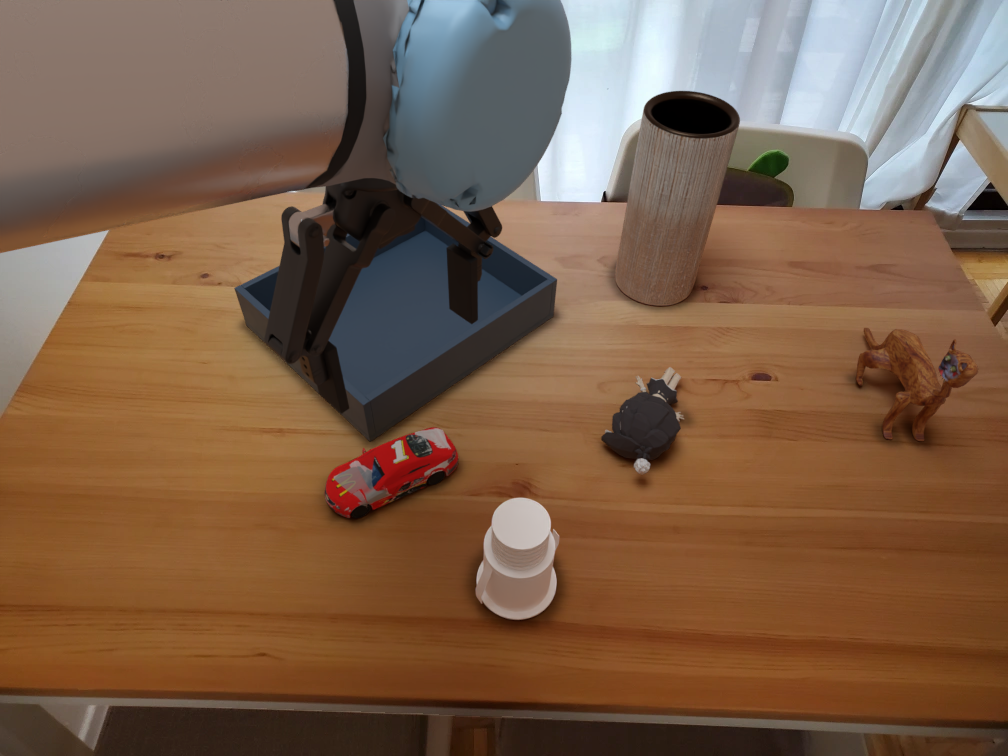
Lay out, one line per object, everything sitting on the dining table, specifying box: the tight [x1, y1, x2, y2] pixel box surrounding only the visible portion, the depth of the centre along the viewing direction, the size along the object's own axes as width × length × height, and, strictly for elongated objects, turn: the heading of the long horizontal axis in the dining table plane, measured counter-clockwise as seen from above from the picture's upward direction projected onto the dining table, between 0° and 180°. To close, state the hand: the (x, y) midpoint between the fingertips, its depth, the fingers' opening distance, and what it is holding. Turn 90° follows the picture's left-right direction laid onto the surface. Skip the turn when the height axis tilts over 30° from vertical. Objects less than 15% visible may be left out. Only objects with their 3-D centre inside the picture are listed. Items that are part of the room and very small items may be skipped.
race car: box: [323, 426, 460, 519], centre depth 69 cm, size 13×5×4 cm, turn 118°
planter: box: [614, 90, 741, 306], centre depth 83 cm, size 10×10×23 cm
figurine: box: [600, 366, 685, 475], centre depth 73 cm, size 7×6×15 cm
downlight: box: [475, 497, 561, 621], centre depth 60 cm, size 8×7×10 cm
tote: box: [234, 203, 558, 443], centre depth 83 cm, size 28×24×6 cm
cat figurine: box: [855, 327, 980, 442], centre depth 75 cm, size 18×7×14 cm, turn 177°
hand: (402, 355), depth 58 cm, fingers open, 13 cm apart
